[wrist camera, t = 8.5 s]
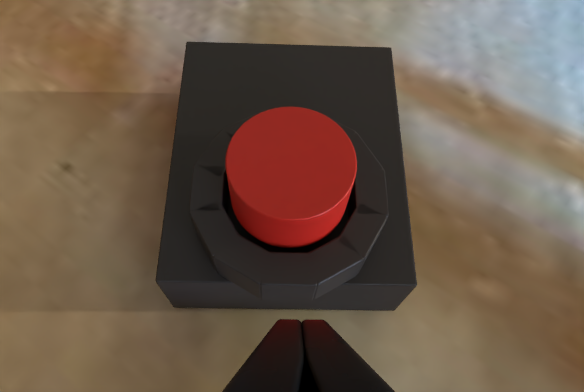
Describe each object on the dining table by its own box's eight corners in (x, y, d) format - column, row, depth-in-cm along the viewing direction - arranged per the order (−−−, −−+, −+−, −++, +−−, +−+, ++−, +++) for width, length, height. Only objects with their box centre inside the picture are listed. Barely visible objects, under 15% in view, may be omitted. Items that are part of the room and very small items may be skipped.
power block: (396, 325, 23) (434, 287, 17) (172, 322, 22) (140, 283, 17) (376, 97, 28) (400, 15, 23) (197, 93, 28) (179, 9, 23)
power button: (349, 249, 18) (360, 221, 16) (227, 247, 18) (220, 219, 16) (344, 145, 20) (353, 107, 18) (234, 143, 20) (229, 104, 18)
